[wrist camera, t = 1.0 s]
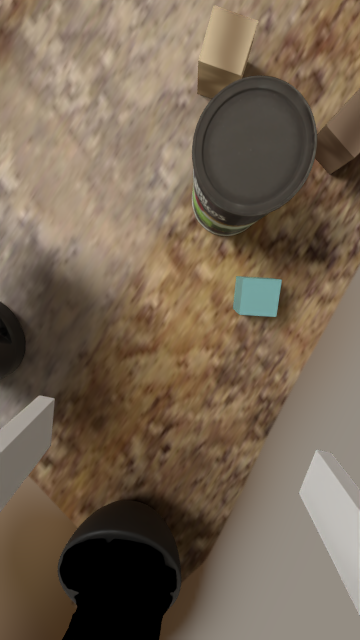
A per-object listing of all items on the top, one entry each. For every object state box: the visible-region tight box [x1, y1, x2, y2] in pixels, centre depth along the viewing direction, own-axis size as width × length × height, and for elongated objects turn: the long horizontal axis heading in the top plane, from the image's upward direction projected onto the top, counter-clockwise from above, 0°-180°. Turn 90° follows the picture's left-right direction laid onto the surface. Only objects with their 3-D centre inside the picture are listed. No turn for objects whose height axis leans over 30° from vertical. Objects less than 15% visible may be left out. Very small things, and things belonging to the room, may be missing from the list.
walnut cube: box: [315, 89, 360, 174], centre depth 28 cm, size 5×5×5 cm
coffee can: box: [192, 76, 317, 236], centre depth 26 cm, size 10×10×14 cm
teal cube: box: [233, 276, 282, 317], centre depth 33 cm, size 5×5×5 cm
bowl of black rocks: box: [58, 500, 181, 640], centre depth 37 cm, size 20×20×19 cm
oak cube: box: [197, 5, 258, 99], centre depth 27 cm, size 5×5×5 cm
